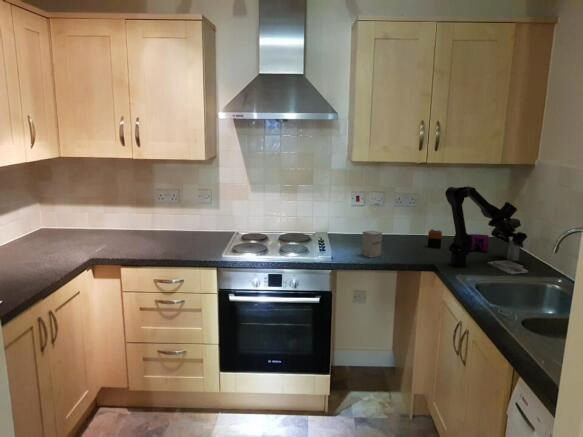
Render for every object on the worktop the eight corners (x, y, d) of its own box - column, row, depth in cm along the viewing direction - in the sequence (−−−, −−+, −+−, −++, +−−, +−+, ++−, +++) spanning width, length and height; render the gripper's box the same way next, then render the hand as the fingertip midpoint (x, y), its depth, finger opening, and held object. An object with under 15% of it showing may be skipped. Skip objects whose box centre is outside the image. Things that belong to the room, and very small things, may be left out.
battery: (428, 245, 264) (429, 228, 262) (440, 247, 261) (442, 229, 259) (427, 247, 260) (428, 230, 258) (440, 249, 257) (441, 231, 255)
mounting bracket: (463, 254, 268) (470, 249, 251) (463, 240, 270) (470, 234, 253) (480, 255, 267) (488, 250, 249) (480, 241, 268) (488, 235, 251)
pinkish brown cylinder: (370, 258, 238) (372, 234, 235) (361, 254, 244) (362, 231, 241) (381, 256, 242) (382, 232, 239) (371, 252, 248) (372, 229, 245)
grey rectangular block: (512, 261, 237) (514, 242, 235) (507, 258, 240) (509, 240, 238) (518, 260, 238) (520, 241, 236) (512, 258, 242) (515, 239, 239)
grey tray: (511, 274, 216) (512, 269, 216) (487, 263, 232) (488, 259, 231) (528, 272, 219) (528, 268, 218) (503, 262, 234) (503, 258, 234)
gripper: (526, 217, 224) (541, 238, 230) (498, 210, 241) (512, 229, 247) (511, 234, 223) (527, 254, 229) (484, 226, 241) (499, 245, 246)
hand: (516, 245), depth 238 cm, fingers open, 8 cm apart
